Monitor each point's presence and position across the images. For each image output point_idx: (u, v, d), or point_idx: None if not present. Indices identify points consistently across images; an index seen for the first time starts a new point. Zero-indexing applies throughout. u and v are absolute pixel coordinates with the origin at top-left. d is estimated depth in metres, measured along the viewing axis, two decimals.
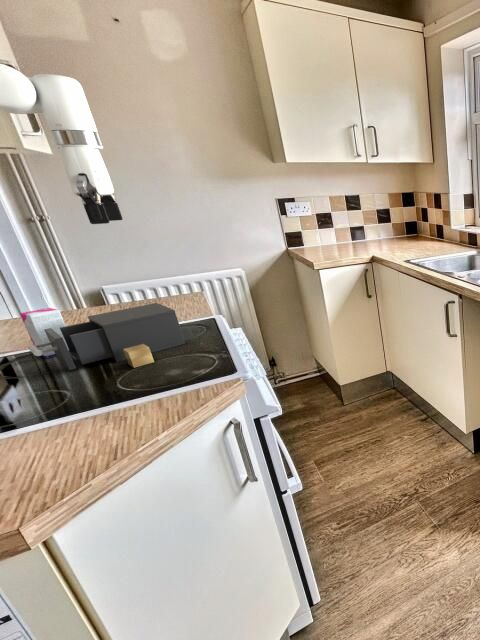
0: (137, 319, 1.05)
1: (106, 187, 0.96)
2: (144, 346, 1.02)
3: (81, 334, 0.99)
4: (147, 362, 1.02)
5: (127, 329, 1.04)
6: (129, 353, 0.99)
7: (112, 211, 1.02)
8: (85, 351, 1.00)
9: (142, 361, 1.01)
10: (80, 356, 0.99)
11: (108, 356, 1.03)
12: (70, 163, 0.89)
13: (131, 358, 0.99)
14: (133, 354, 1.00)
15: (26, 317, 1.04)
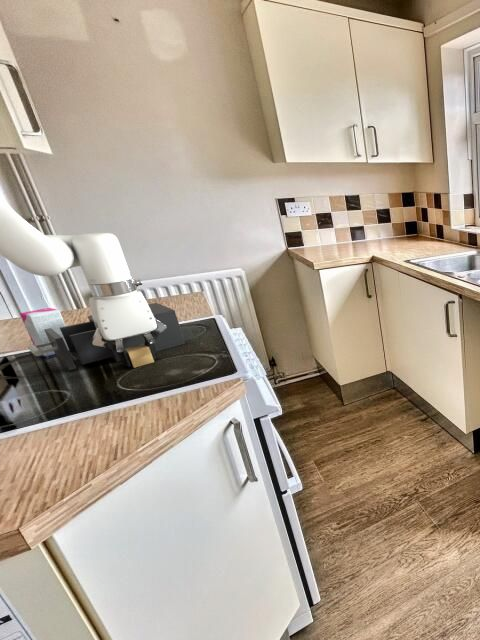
0: None
1: (126, 331, 0.98)
2: (144, 346, 1.02)
3: (81, 334, 0.99)
4: (147, 362, 1.02)
5: None
6: (129, 353, 0.99)
7: None
8: (85, 351, 1.00)
9: (142, 361, 1.01)
10: (80, 356, 0.99)
11: (108, 356, 1.03)
12: (91, 312, 0.95)
13: (131, 358, 0.99)
14: (133, 354, 1.00)
15: (26, 317, 1.04)
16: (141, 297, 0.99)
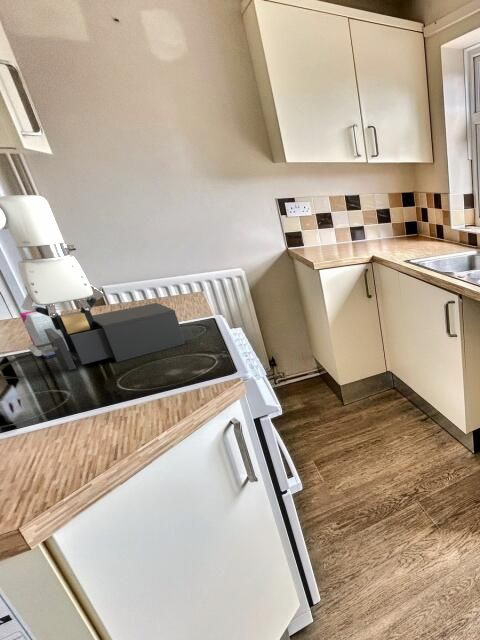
0: (137, 319, 1.05)
1: (58, 296, 0.97)
2: (80, 313, 1.01)
3: (81, 334, 0.99)
4: (83, 329, 1.01)
5: (127, 329, 1.04)
6: (62, 319, 0.98)
7: None
8: (85, 351, 1.00)
9: (77, 328, 1.00)
10: (80, 356, 0.99)
11: (108, 356, 1.03)
12: (21, 276, 0.94)
13: (65, 324, 0.99)
14: (67, 320, 0.99)
15: (26, 317, 1.04)
16: (74, 262, 0.98)
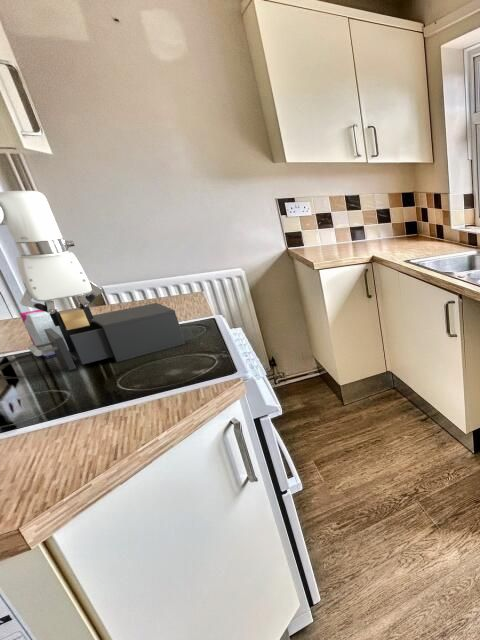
0: (137, 319, 1.05)
1: (57, 292, 0.96)
2: (79, 309, 1.01)
3: (81, 334, 0.99)
4: (82, 325, 1.01)
5: (127, 329, 1.04)
6: (61, 315, 0.98)
7: None
8: (85, 351, 1.00)
9: (76, 324, 1.00)
10: (80, 356, 0.99)
11: (108, 356, 1.03)
12: None
13: (64, 320, 0.98)
14: (66, 316, 0.98)
15: (26, 317, 1.04)
16: (73, 258, 0.98)
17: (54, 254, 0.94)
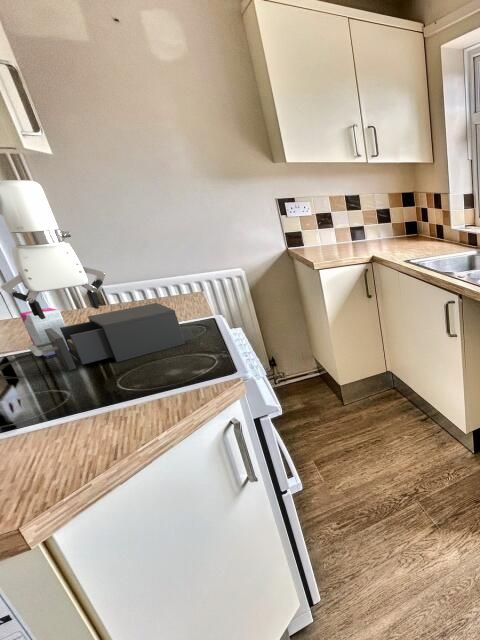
0: (137, 319, 1.05)
1: (53, 283, 0.96)
2: None
3: (81, 334, 0.99)
4: None
5: (127, 329, 1.04)
6: None
7: (91, 300, 1.02)
8: (86, 351, 1.00)
9: None
10: (80, 356, 0.99)
11: (108, 356, 1.03)
12: (15, 263, 0.93)
13: None
14: None
15: (26, 317, 1.04)
16: (69, 249, 0.97)
17: (50, 244, 0.93)
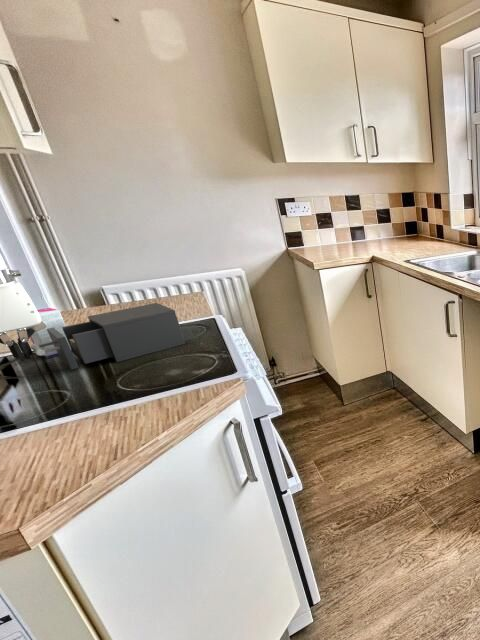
0: (137, 319, 1.05)
1: (2, 325, 0.91)
2: None
3: (83, 333, 0.99)
4: None
5: (127, 329, 1.04)
6: None
7: (21, 350, 0.95)
8: (88, 351, 1.00)
9: None
10: (82, 355, 0.99)
11: (110, 355, 1.04)
12: None
13: (77, 348, 1.01)
14: None
15: None
16: (19, 289, 0.92)
17: None
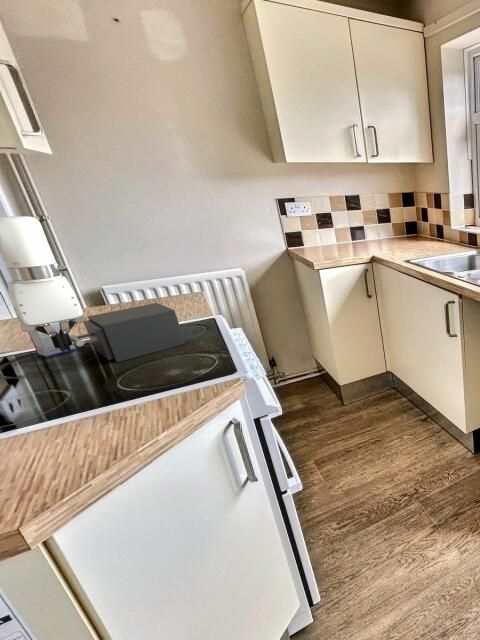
0: (137, 319, 1.05)
1: (47, 316, 0.96)
2: None
3: None
4: None
5: (127, 329, 1.04)
6: None
7: None
8: None
9: None
10: None
11: None
12: (10, 297, 0.93)
13: None
14: None
15: None
16: (65, 283, 0.97)
17: (46, 279, 0.94)
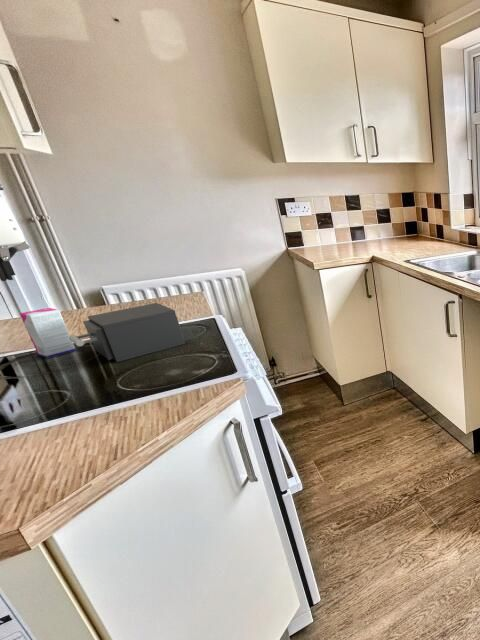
0: (137, 319, 1.05)
1: None
2: None
3: None
4: None
5: (127, 329, 1.04)
6: None
7: (3, 270, 0.90)
8: None
9: None
10: None
11: None
12: None
13: None
14: None
15: (26, 317, 1.04)
16: (1, 203, 0.88)
17: None
